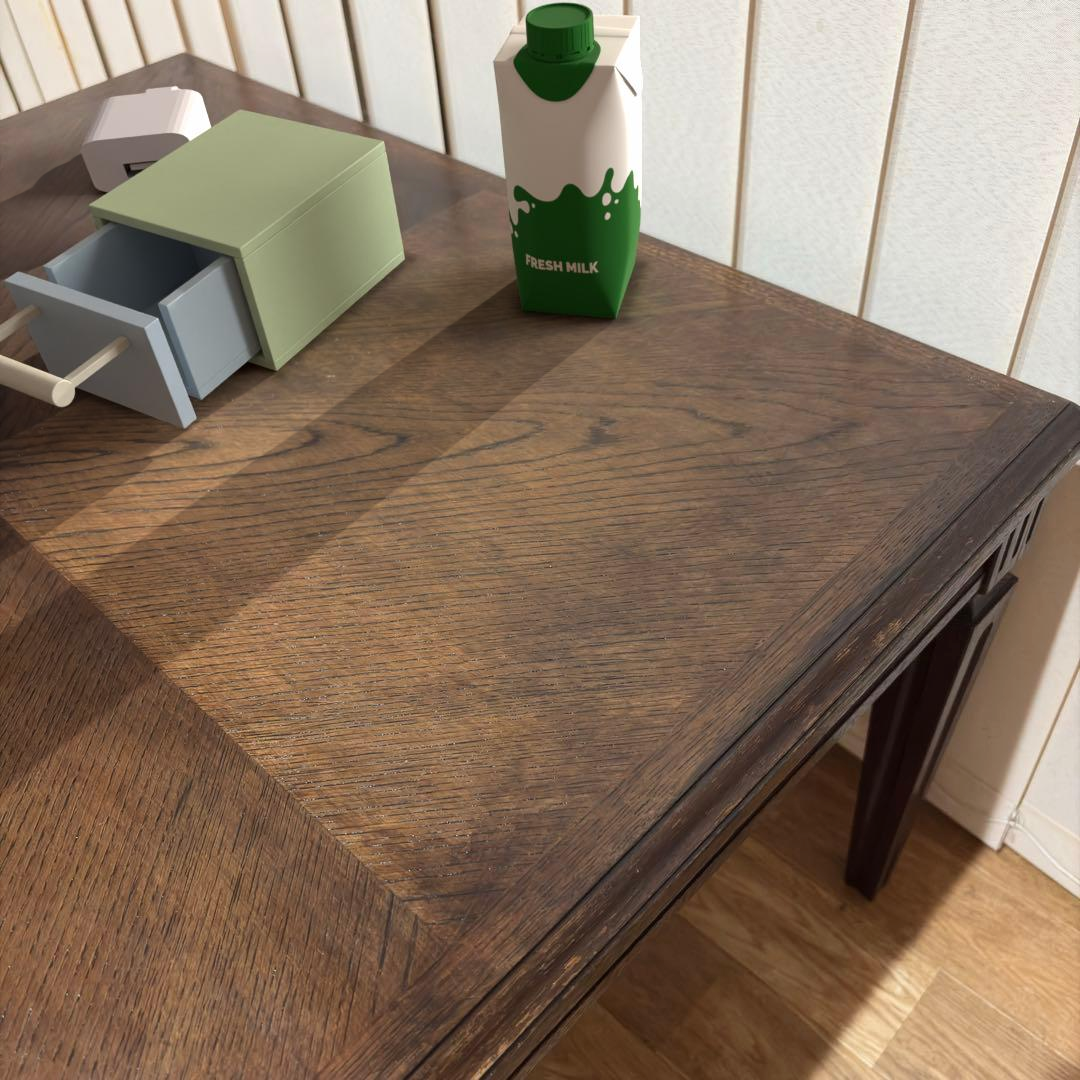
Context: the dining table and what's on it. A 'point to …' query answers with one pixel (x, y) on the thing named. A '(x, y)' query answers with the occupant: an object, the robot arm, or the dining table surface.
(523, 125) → the milk carton
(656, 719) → the dining table surface
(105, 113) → the charger
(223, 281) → the drawer
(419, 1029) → the dining table surface
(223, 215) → the cabinet
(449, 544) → the dining table surface
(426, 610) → the dining table surface
